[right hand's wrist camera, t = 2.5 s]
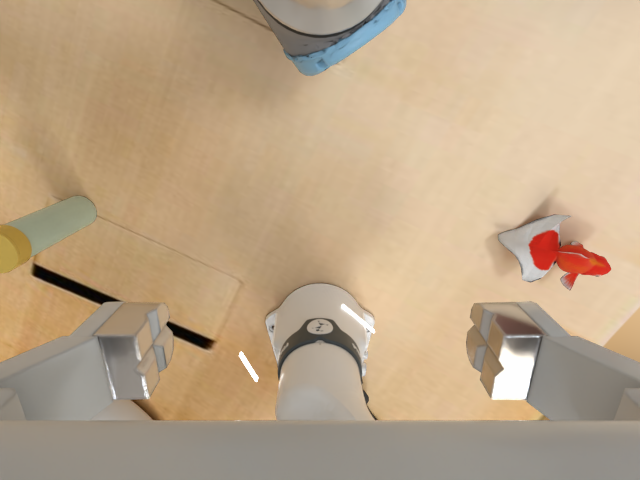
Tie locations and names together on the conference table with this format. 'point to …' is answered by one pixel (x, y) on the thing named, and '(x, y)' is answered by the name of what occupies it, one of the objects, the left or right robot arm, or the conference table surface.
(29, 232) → the jar
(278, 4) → the left robot arm
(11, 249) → the lid
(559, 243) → the fish
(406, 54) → the conference table surface
